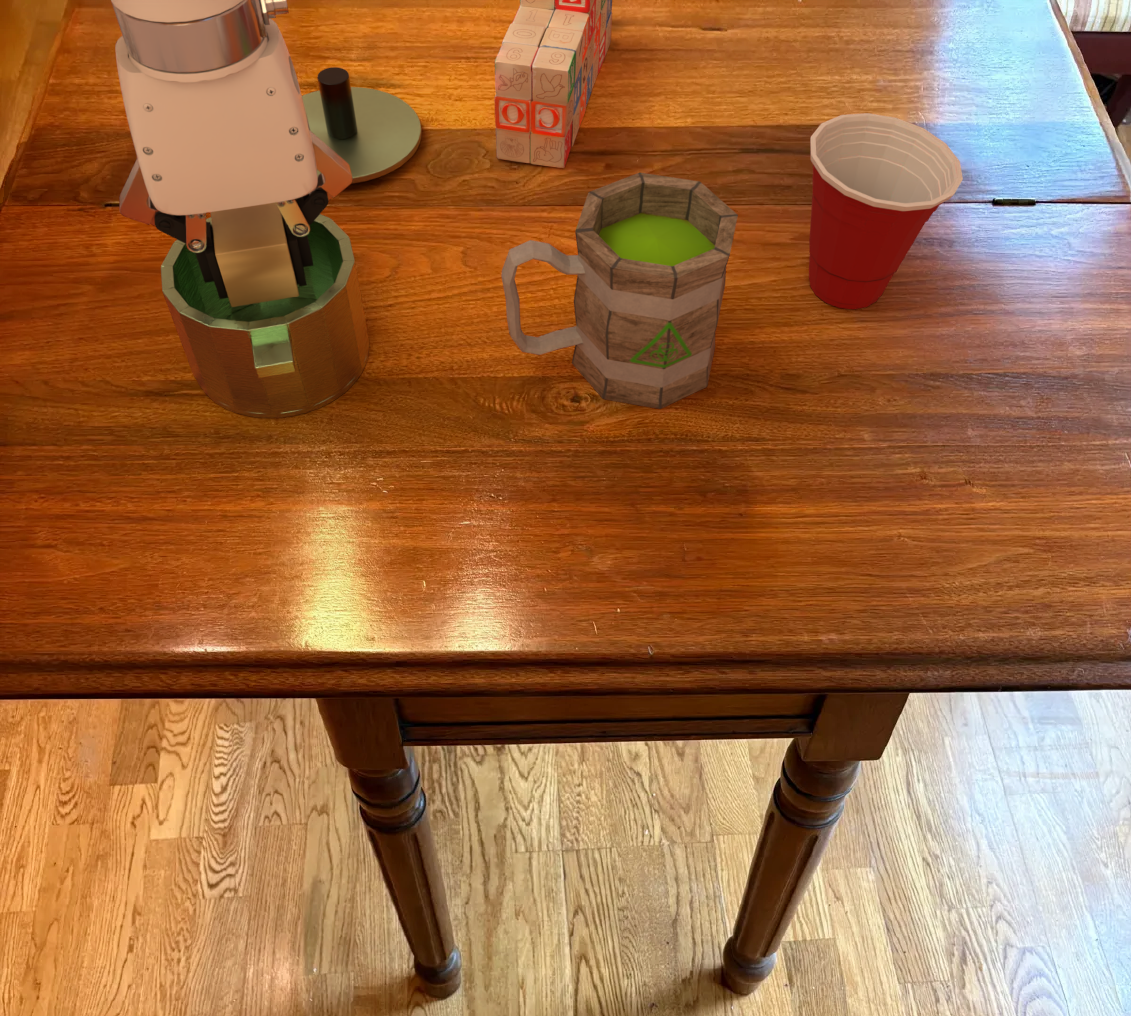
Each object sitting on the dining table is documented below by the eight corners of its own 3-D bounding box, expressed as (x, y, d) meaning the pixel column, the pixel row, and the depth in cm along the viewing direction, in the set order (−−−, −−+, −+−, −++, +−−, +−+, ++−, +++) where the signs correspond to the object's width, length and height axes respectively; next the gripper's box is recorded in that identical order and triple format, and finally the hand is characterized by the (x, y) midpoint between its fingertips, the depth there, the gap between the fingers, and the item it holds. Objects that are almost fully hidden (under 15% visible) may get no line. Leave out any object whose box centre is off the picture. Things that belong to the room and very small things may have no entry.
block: (231, 307, 72) (215, 254, 68) (226, 264, 74) (210, 210, 71) (299, 296, 72) (287, 243, 69) (292, 254, 75) (279, 200, 71)
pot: (202, 462, 73) (167, 374, 66) (187, 287, 83) (155, 195, 76) (388, 428, 75) (372, 339, 68) (350, 261, 85) (334, 169, 78)
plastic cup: (934, 331, 82) (987, 199, 72) (793, 336, 81) (827, 204, 71) (898, 238, 88) (942, 106, 78) (767, 242, 87) (795, 109, 78)
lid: (274, 201, 89) (257, 134, 84) (258, 109, 97) (242, 42, 92) (435, 177, 92) (429, 110, 87) (407, 89, 100) (400, 23, 94)
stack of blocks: (566, 171, 93) (568, 35, 83) (495, 161, 93) (489, 24, 83) (611, 41, 105) (618, -91, 95) (548, 33, 106) (549, -99, 96)
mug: (697, 298, 83) (717, 165, 74) (734, 400, 77) (761, 269, 67) (495, 319, 81) (488, 186, 72) (515, 426, 75) (511, 295, 65)
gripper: (338, -31, 62) (376, 225, 77) (31, 3, 59) (131, 263, 74) (357, 37, 58) (394, 295, 72) (27, 78, 55) (135, 338, 70)
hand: (261, 276), depth 73 cm, fingers closed on block, 4 cm apart
